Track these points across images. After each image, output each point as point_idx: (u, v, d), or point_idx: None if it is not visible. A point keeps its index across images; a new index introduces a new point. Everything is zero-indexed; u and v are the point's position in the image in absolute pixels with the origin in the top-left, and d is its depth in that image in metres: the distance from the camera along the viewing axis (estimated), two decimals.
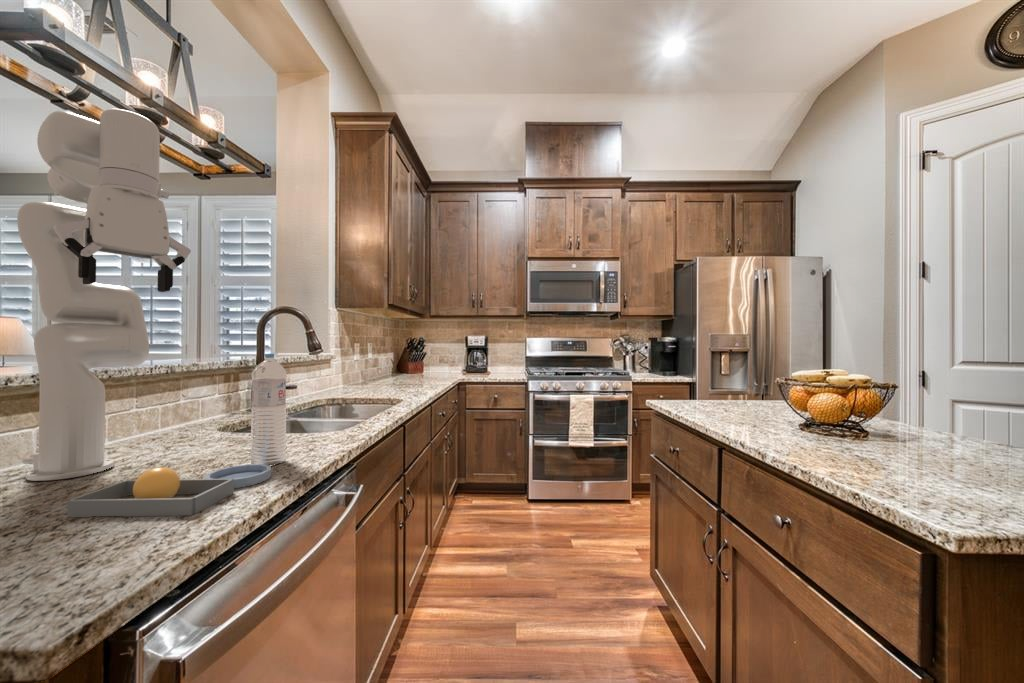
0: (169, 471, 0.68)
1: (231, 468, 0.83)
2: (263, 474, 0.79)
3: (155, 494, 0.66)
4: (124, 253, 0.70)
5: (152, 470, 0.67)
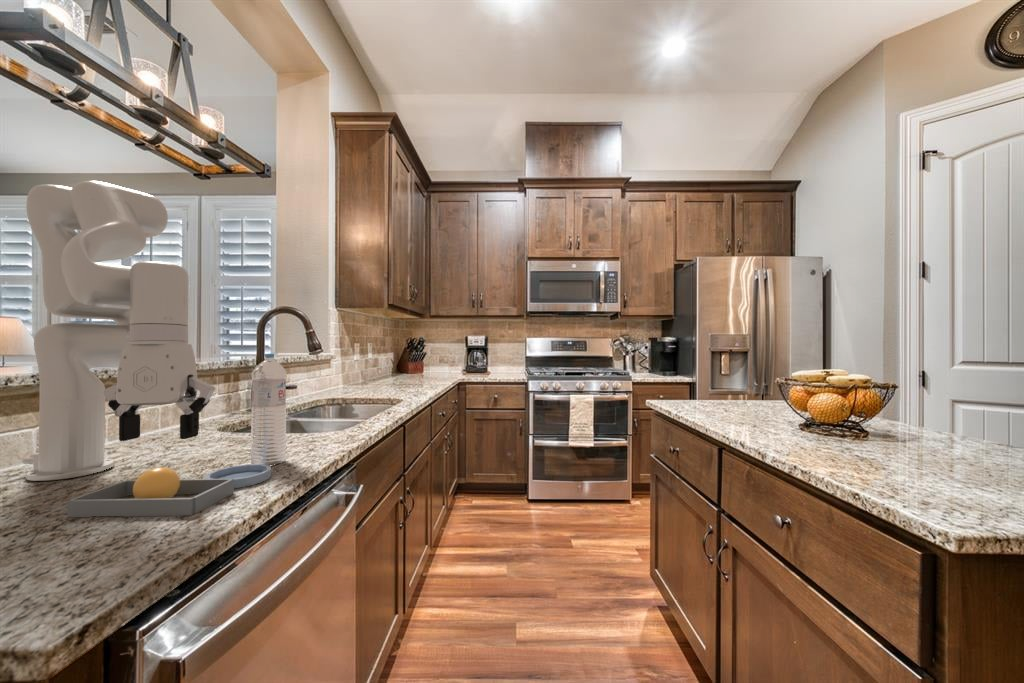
0: (169, 471, 0.68)
1: (231, 468, 0.83)
2: (263, 474, 0.79)
3: (155, 494, 0.66)
4: None
5: (152, 470, 0.67)
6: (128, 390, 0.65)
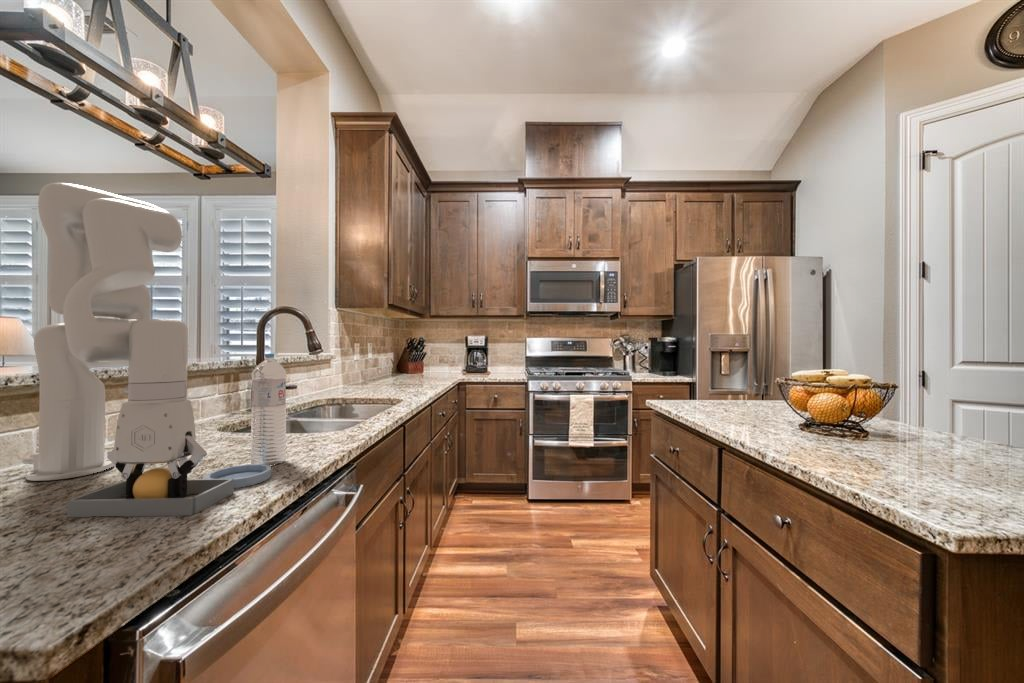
0: (169, 471, 0.68)
1: (231, 468, 0.83)
2: (263, 474, 0.79)
3: (155, 494, 0.66)
4: None
5: (152, 470, 0.67)
6: (126, 449, 0.65)
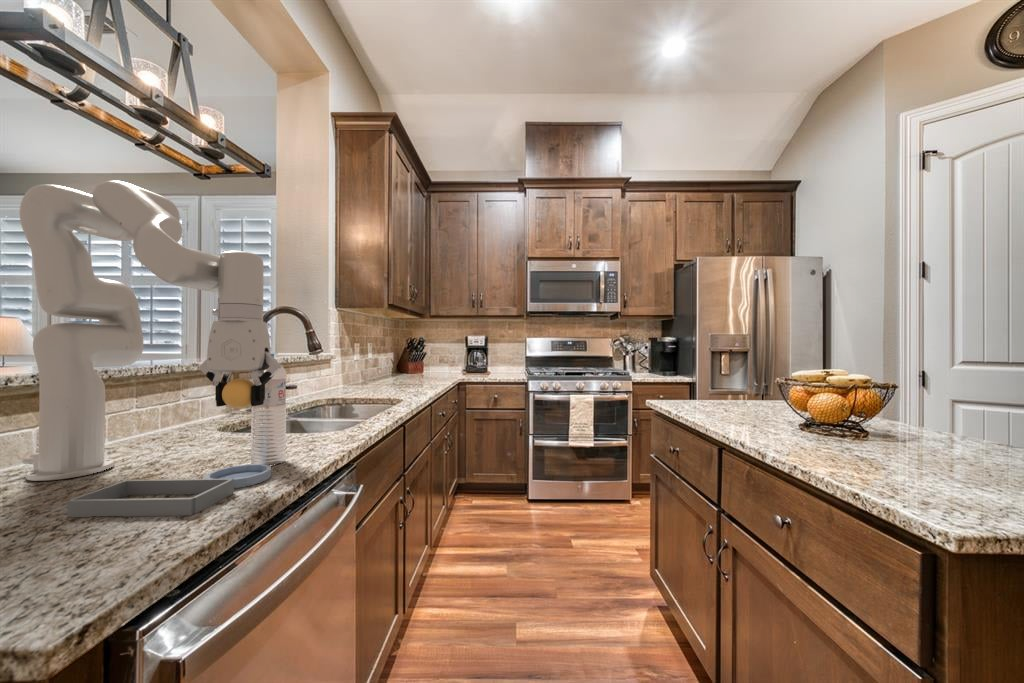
0: (250, 381, 0.81)
1: (231, 468, 0.83)
2: (263, 474, 0.79)
3: (241, 397, 0.78)
4: None
5: (237, 379, 0.80)
6: (217, 359, 0.78)
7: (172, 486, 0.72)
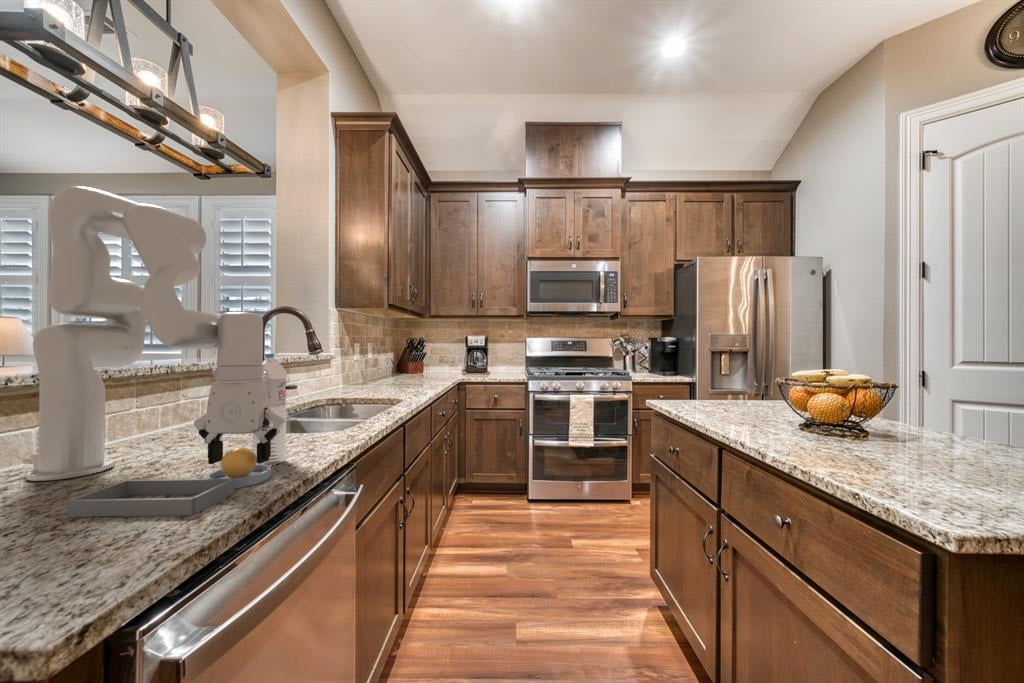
0: (249, 450, 0.80)
1: None
2: (263, 474, 0.79)
3: (240, 469, 0.78)
4: None
5: (236, 449, 0.79)
6: (216, 421, 0.77)
7: (172, 486, 0.72)
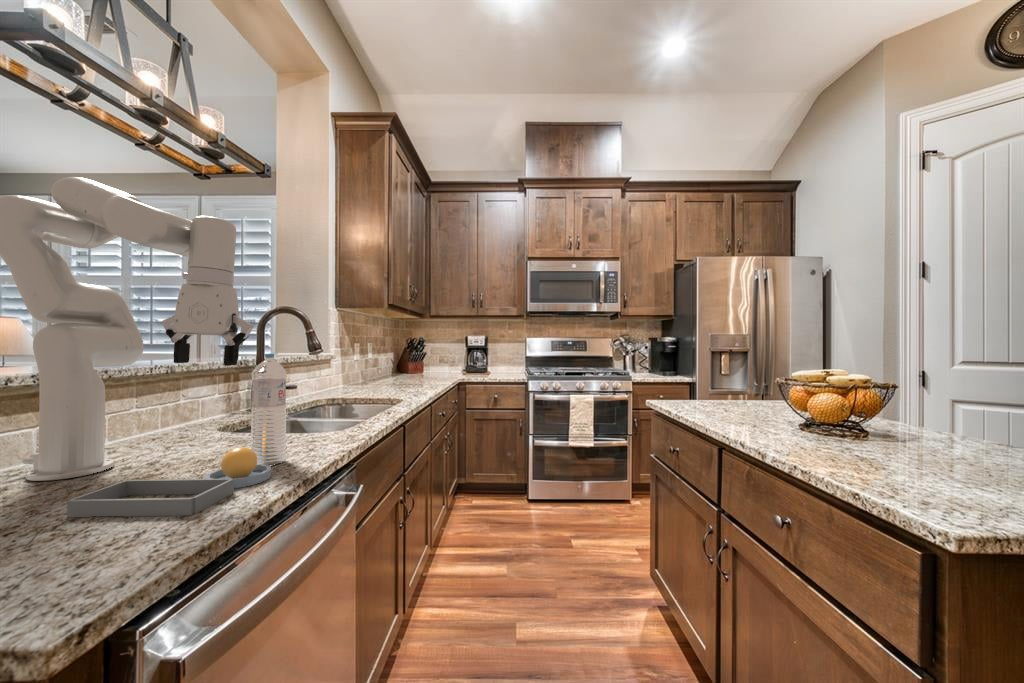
0: (250, 450, 0.80)
1: None
2: (263, 474, 0.79)
3: (240, 469, 0.78)
4: None
5: (236, 449, 0.79)
6: (184, 321, 0.79)
7: (172, 486, 0.72)
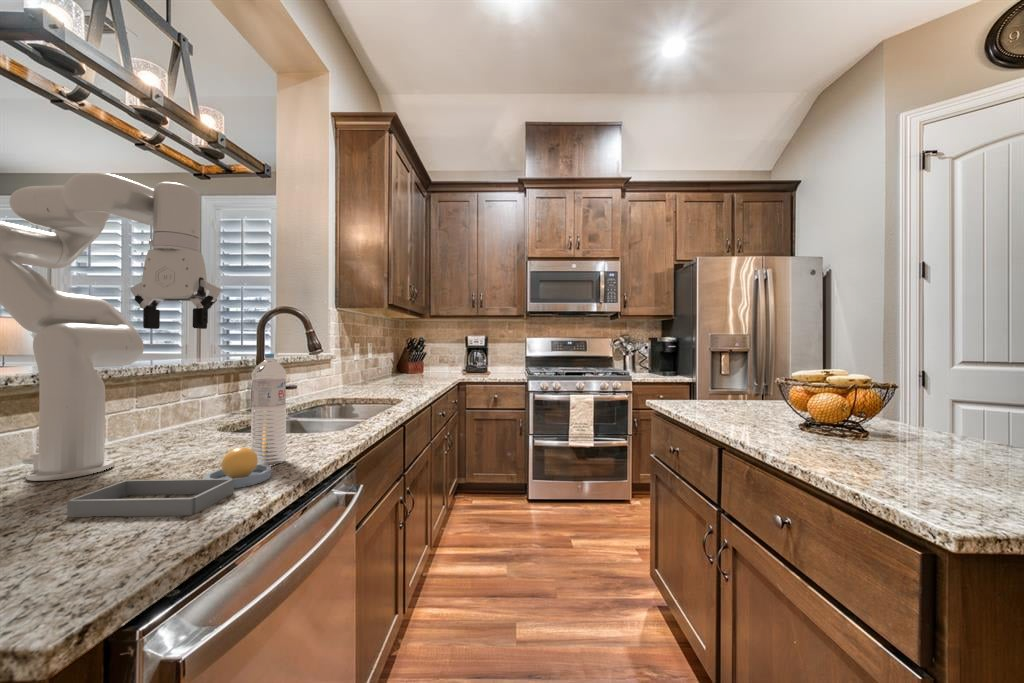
0: (250, 451, 0.80)
1: None
2: (263, 474, 0.79)
3: (241, 469, 0.78)
4: None
5: (237, 449, 0.79)
6: (151, 285, 0.81)
7: (172, 486, 0.72)
